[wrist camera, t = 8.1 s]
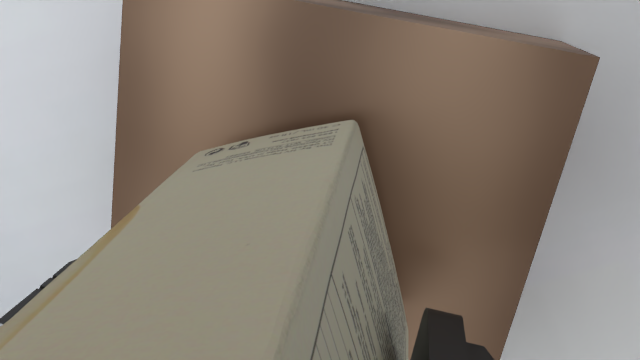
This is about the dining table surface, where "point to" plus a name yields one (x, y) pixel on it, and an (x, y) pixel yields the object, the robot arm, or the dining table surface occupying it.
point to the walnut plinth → (370, 126)
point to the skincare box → (234, 264)
